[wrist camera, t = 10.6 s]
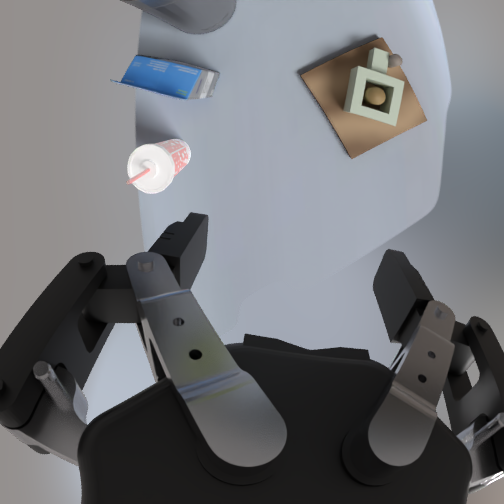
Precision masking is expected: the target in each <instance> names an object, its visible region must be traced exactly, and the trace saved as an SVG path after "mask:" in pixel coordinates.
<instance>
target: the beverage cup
mask: <svg viewBox="0 0 504 504" xmlns="http://www.w3.org/2000/svg"><path fill="white" fill-rule="evenodd" d="M190 158H191V151H190V148H189V146H188V145H187V144H186V143H185V142H184V141H182V140H180V139H171V140H167V141H163V142H159V143H155V144H145V145H142V146H140V147H138V148H136V149H135V150H134V152H133V153H132V154H131V155H130V158H129V161H128V164H127V167H128V175H129V177H130V179H129V180H128V181H127V184H128V185H129V184H131V183H133V184H134V185H135V187H136V188H137V189H139V190H141V191H143V192H145V193H151V194H155V193H158V192H161V191H163V190H164V189H165V188H166V187H167V186H168V185H169V184H170V183H171V182H172V180H173V177H174V176H175V175H176V174H177V173H178V172H179V171H180V170H181V169H182V168H183V167H185V166H186V165H187V164H188V162H189V160H190Z"/></svg>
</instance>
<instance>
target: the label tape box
mask: <svg viewBox="0 0 504 504" xmlns="http://www.w3.org/2000/svg"><path fill="white" fill-rule="evenodd" d="M219 75H220V73H218V72H215V71H212V70H208V69H205V68H201V67H198V66H194V65H190V64H187V63H182V62H178V61H173V60H168V59H163V58H157V57H151V56H143V55H136V56H135V57H134V59H133V61H132V63H131V64H130V66H129V67H128V69H127V71H126V73H125V75H124V77H123V78H122V80H121V82H118V81H113V80H111V81H112V82H115V83H118V84H122V85H126V86H130V87H134V88H138V89H142V90H145V91H149V92H153V93H156V94H160V95H164V96H168V97H171V98H175V99H179V100H191V99H201V98H208V97H212V95H213V92H214V89H215V86H216V83H217V81H218V78H219Z"/></svg>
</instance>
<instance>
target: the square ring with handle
mask: <svg viewBox="0 0 504 504" xmlns="http://www.w3.org/2000/svg"><path fill="white" fill-rule="evenodd" d="M389 54H390V53H389V52H386V51H383V50H380V49H377V48H373V49H371V50H369V56H368V62H367V68H363V67H360V66H357V67H355V68H353V69H351V72H350V78H349V83H348V89H347V94H346V100H345V105H344V110H343V111H345V112H349V113H353V114H356V115H360V116H363V117H367V118H370V119H373V120H377V121H380V122H383V123H386V124H389V125H393V126H396V123H397V118H398V114H399V109H400V104H401V99H402V93H403V88H404V81H401V80H399V79H396V78H393V77H390V76H388V75H386V73H387V67H388V60H389ZM366 82H367V83H370V84H373V85H376V86H379V87H382V88H384V89H383V91H384V93H385V101H384V102H383V103H382V104H381V105H380V110H379V111H377V110H374V109H371V108H368V107H364V106H361V105H362V100H363V95H364V89H365V84H366Z"/></svg>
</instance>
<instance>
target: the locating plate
mask: <svg viewBox="0 0 504 504" xmlns="http://www.w3.org/2000/svg"><path fill="white" fill-rule="evenodd" d="M373 48H377V49H380V50H383V51H386V52H389V53H390V54H389V60H388V67H387V73H386V75H388V76H390V77H393V78H396V79H399V80H401V81H404V88H403V93H402V99H401V104H400V109H399V114H398V118H397V123H396V126H393V125H389V124H386V123H383V122H380V121H377V120H373V119H370V118H367V117H363V116H360V115H356V114H353V113H349V112H345V111H343V110H344V105H345V100H346V94H347V89H348V83H349V78H350V72H351V69H353V68H355V67H357V66H360V67H363V68H367V62H368V56H369V50H371V49H373ZM401 64H402V58H401V57H400V56H399V55H397V54H393V53H392V52H391V50H390V49H389V47H388V45H387V44H386V42H385V41H384V39H383V38H379V39H377V40H374V41H372V42H369V43H367V44H365V45H362V46H360V47H358V48H355V49H353V50H351V51H349V52H346V53H344V54H342V55H340V56H338V57H336V58H334V59H332V60H330V61H328V62H326V63H324V64H322V65H320V66H318V67H316V68H314V69H312V70H310V71H308V72H306V73H304V74H302V75H301V78H302V79H303V80H304V82H305V83H306V85H307V86H308V88H309V89H310V91H311V92H312V94H313V95H314V97H315V98H316V100H317V102H318V103H319V105H320V106H321V108H322V109H323V111H324V113H325V114H326V116H327V118H328V119H329V121H330V123H331V124H332V126H333V128H334V129H335V131H336V133H337V134H338V136H339V138H340V140H341V141H342V143H343V145H344V147H345V149H346V150H347V152H348V154H349V156H350V158H351V159H353V158H355V157H357V156H359V155H360V154H362V153H364V152H366V151H368V150H370V149H372V148H374V147H376V146H378V145H380V144H382V143H383V142H385V141H387V140H389V139H391V138H393V137H395V136H397V135H399V134H401V133H403V132H405V131H407V130H409V129H411V128H413V127H415V126H417V125H419V124H421V123H423V122H425V121H427V119H426V117H425V115H424V112H423V110H422V108H421V106H420V104H419V102H418V99H417V97H416V95H415V93H414V91H413V89H412V87H411V85H410V84H409V82H408V80H407V78H406V76H405V74H404V72H403V71H402V69H401V67H400V65H401ZM383 89H384V88H382V87H379V86H376V85H373V84H370V83H367V82H366V84H365V89H364V95H363V100H362V105H361V106H364V107H368V108H371V109H374V110H377V111H379V110H380V105H381V104H382V103H383V102H384V101H385V93H384V91H383Z"/></svg>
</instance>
